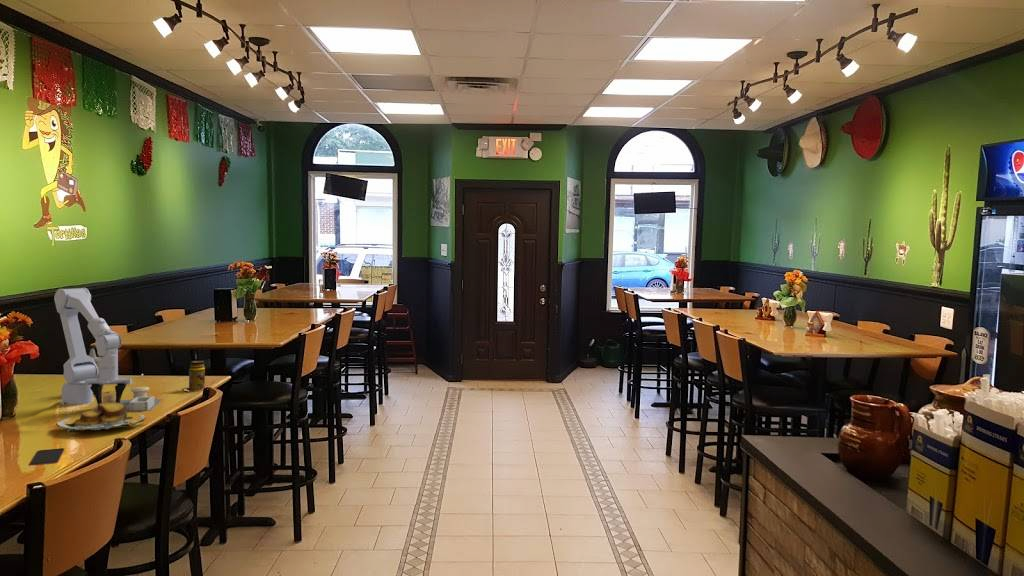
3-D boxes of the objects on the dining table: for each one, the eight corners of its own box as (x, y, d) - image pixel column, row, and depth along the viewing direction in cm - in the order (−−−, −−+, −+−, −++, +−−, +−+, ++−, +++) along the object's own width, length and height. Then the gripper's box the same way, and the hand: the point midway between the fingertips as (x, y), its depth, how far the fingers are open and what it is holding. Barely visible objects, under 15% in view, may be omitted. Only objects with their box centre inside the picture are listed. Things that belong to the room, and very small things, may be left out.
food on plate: (37, 434, 211) (37, 413, 211) (97, 414, 236) (97, 396, 235) (107, 440, 207) (107, 419, 207) (161, 420, 232) (161, 401, 231)
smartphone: (65, 447, 198) (58, 462, 185) (65, 449, 198) (58, 464, 185) (37, 450, 194) (27, 465, 182) (37, 452, 195) (27, 467, 182)
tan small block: (103, 409, 235) (103, 395, 235) (106, 406, 239) (106, 393, 239) (110, 409, 236) (110, 395, 236) (114, 406, 240) (114, 393, 240)
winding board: (88, 416, 232) (88, 398, 231) (104, 404, 248) (104, 387, 248) (150, 414, 237) (150, 396, 236) (162, 402, 253) (162, 386, 253)
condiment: (206, 390, 276) (207, 362, 275) (184, 392, 271) (184, 363, 270) (204, 386, 282) (204, 359, 281) (182, 388, 277) (182, 360, 276)
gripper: (81, 369, 231) (81, 407, 232) (127, 369, 235) (127, 406, 236) (88, 365, 238) (89, 402, 239) (133, 365, 241) (133, 401, 242)
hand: (108, 404), depth 238 cm, fingers open, 5 cm apart
